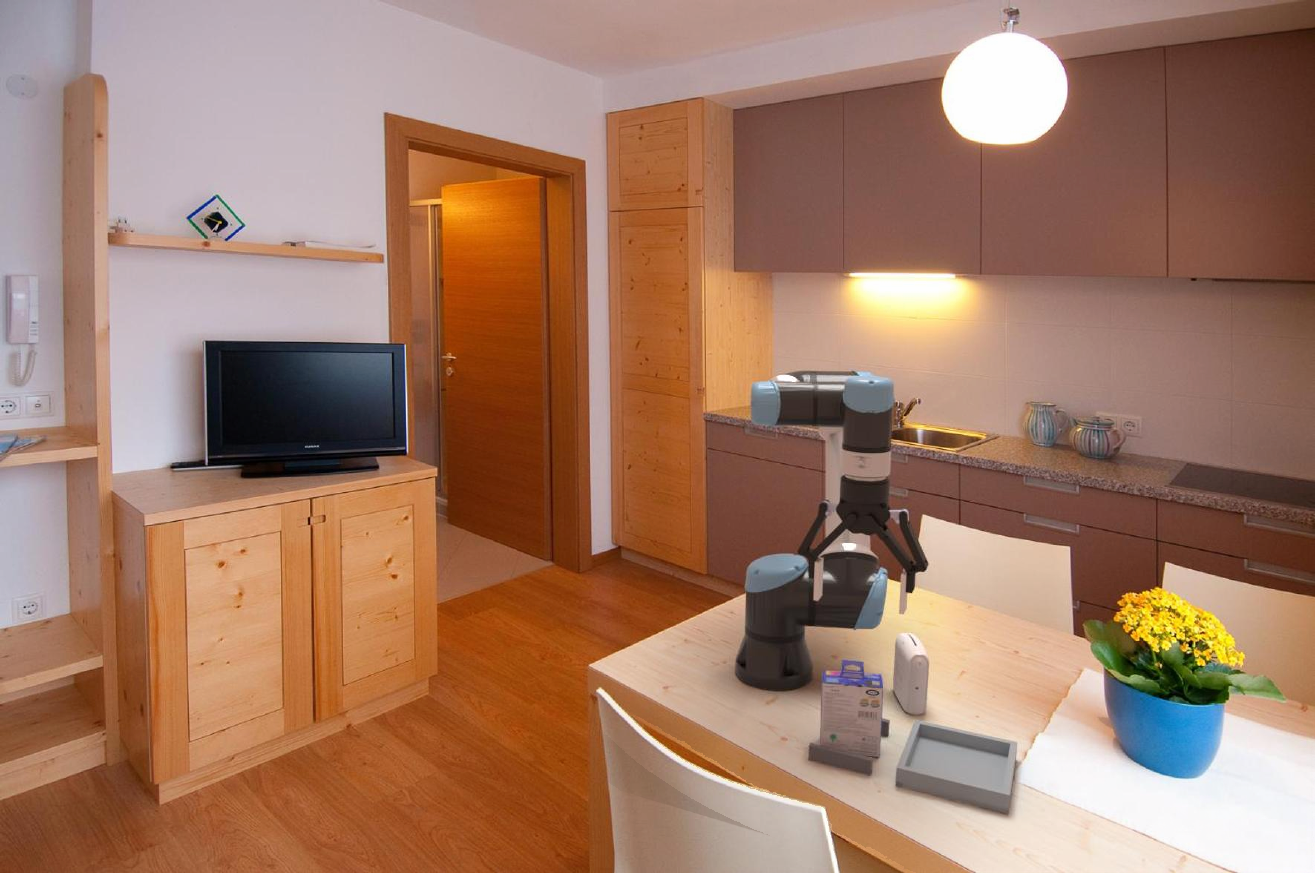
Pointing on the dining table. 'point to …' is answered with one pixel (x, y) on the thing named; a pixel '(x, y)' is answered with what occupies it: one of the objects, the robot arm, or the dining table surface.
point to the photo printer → (911, 673)
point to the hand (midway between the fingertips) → (859, 604)
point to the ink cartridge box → (852, 710)
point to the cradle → (845, 755)
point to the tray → (958, 765)
